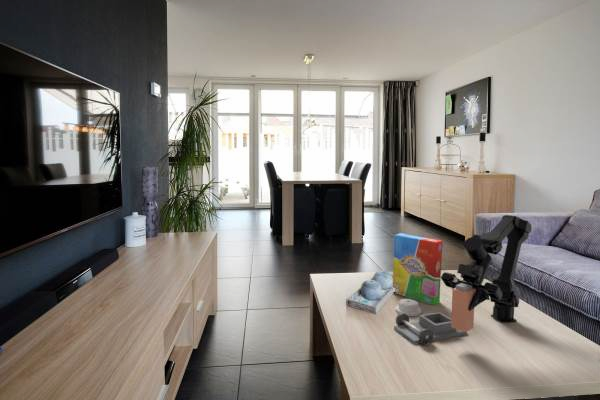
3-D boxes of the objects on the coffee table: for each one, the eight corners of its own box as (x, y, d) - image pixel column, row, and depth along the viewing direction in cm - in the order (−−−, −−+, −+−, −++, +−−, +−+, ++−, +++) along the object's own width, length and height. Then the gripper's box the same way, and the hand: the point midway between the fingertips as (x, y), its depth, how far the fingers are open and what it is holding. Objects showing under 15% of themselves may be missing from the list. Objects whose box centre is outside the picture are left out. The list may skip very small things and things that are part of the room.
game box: (391, 292, 178) (393, 234, 175) (398, 290, 182) (400, 232, 179) (434, 305, 163) (436, 241, 160) (440, 302, 166) (443, 239, 163)
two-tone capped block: (458, 322, 131) (460, 282, 130) (473, 327, 127) (475, 285, 126) (451, 327, 128) (452, 285, 126) (465, 332, 124) (467, 289, 123)
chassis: (441, 319, 149) (442, 306, 149) (470, 335, 135) (470, 322, 135) (391, 327, 142) (392, 314, 142) (416, 346, 128) (417, 331, 128)
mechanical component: (395, 316, 153) (422, 318, 151) (396, 305, 153) (422, 307, 151) (394, 306, 163) (419, 308, 161) (395, 296, 162) (420, 297, 160)
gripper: (444, 249, 135) (425, 287, 129) (500, 260, 120) (482, 303, 115) (455, 267, 141) (437, 304, 135) (509, 279, 126) (492, 321, 121)
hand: (460, 307), depth 126 cm, fingers closed on two-tone capped block, 5 cm apart
